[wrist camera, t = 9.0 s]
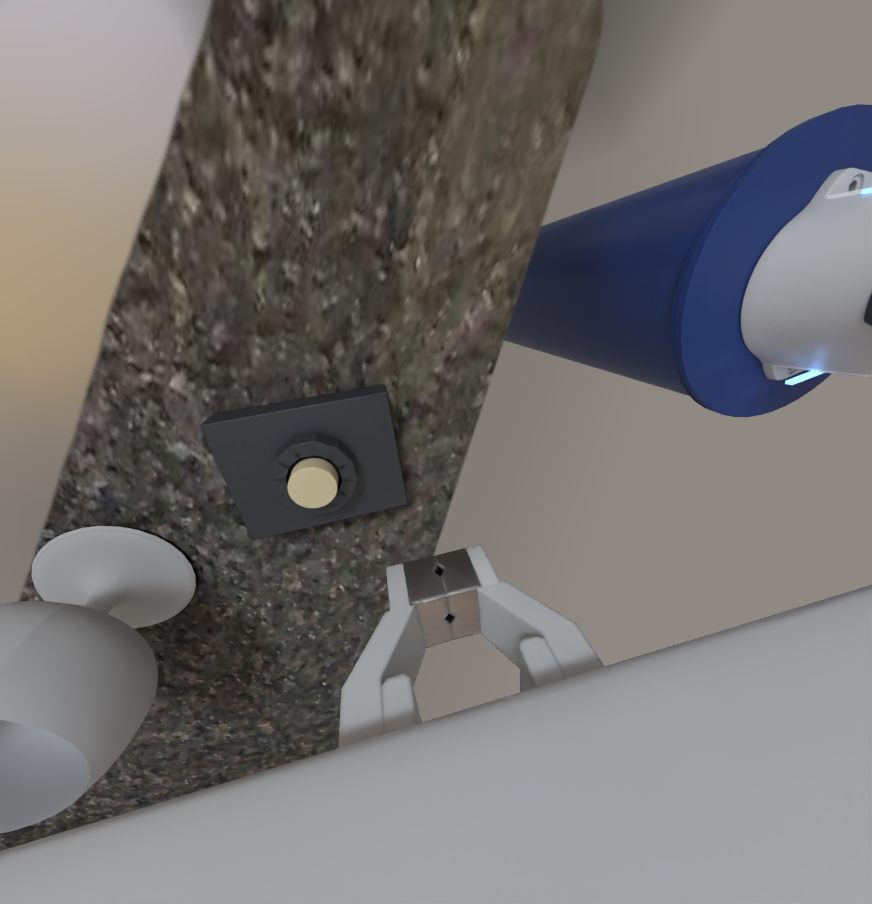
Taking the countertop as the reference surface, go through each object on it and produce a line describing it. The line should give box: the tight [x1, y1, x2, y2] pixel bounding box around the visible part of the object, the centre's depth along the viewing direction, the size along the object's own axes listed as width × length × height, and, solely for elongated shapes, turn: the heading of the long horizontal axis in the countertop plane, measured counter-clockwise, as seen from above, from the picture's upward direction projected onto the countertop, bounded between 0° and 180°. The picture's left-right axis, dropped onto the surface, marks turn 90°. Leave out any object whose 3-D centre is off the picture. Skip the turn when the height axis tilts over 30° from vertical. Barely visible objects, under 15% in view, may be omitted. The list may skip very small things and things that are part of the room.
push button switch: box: [287, 458, 338, 508], centre depth 27 cm, size 4×4×2 cm
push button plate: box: [200, 384, 408, 540], centre depth 29 cm, size 14×11×4 cm
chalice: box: [0, 526, 196, 833], centre depth 25 cm, size 14×14×15 cm
